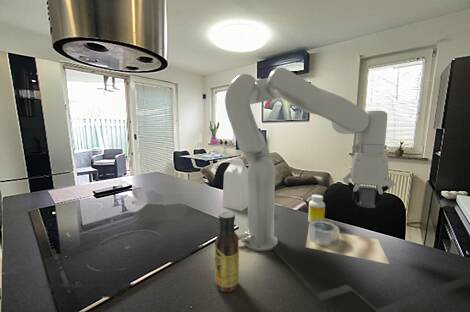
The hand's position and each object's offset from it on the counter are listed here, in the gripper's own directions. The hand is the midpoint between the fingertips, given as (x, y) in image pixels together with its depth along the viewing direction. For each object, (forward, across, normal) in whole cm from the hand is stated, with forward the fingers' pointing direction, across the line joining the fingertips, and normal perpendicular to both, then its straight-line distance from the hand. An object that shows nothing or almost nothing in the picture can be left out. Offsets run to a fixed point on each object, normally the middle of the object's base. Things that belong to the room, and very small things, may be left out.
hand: (366, 202), depth 71 cm
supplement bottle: (+17, -15, +16) cm, 28 cm away
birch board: (+17, -6, 0) cm, 18 cm away
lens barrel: (+16, -12, 0) cm, 20 cm away
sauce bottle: (+18, -36, -33) cm, 52 cm away
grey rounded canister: (+1, 0, 0) cm, 1 cm away
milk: (+18, -57, +24) cm, 64 cm away
